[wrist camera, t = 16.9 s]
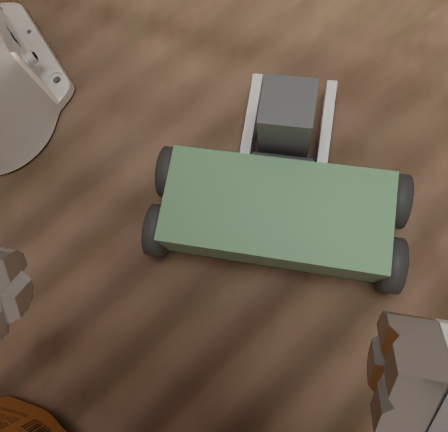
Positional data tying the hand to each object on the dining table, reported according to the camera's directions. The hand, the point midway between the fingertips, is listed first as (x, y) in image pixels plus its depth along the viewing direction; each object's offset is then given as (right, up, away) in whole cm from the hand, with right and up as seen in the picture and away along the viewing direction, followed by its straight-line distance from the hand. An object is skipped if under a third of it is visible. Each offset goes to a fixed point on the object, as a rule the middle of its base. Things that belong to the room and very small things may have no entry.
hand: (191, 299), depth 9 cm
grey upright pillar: (+7, +9, +34) cm, 36 cm away
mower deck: (+7, +6, +33) cm, 34 cm away
